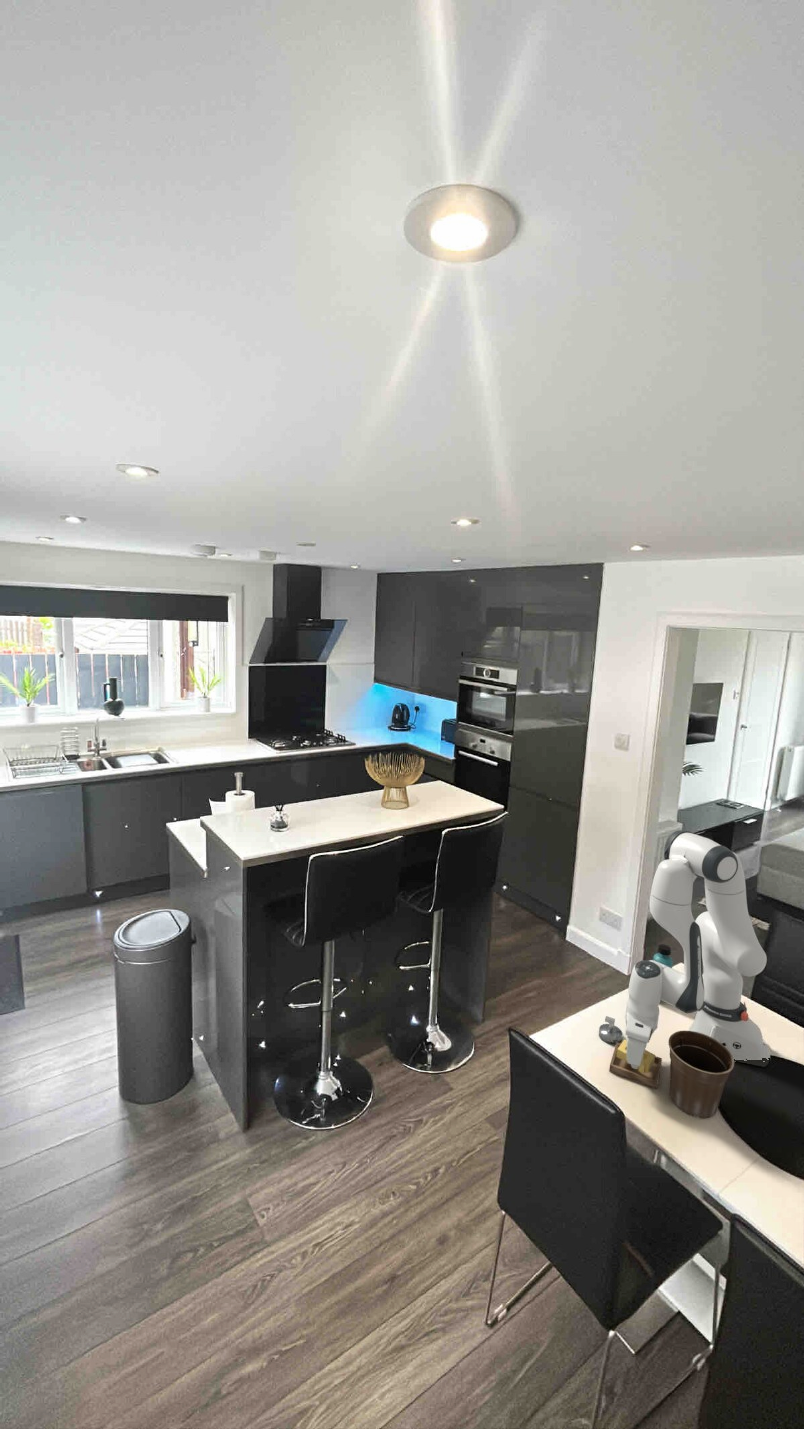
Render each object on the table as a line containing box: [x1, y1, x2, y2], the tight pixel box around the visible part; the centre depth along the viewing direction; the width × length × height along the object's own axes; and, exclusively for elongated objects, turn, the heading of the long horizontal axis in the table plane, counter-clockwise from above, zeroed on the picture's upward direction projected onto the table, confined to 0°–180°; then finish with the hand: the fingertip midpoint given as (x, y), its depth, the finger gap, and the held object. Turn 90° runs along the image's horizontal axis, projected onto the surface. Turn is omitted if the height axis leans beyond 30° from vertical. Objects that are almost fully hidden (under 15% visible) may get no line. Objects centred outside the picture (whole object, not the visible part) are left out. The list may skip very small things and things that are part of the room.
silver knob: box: [598, 1015, 624, 1046], centre depth 195 cm, size 7×7×6 cm
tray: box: [608, 1043, 663, 1090], centre depth 183 cm, size 13×11×2 cm
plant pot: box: [668, 1030, 735, 1120], centre depth 170 cm, size 16×16×16 cm
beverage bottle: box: [652, 943, 674, 1002], centre depth 214 cm, size 6×7×20 cm
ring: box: [616, 1039, 656, 1073], centre depth 182 cm, size 7×9×3 cm
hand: (636, 1058), depth 183 cm, fingers closed on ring, 6 cm apart
